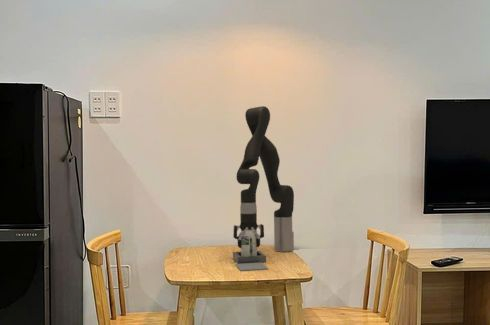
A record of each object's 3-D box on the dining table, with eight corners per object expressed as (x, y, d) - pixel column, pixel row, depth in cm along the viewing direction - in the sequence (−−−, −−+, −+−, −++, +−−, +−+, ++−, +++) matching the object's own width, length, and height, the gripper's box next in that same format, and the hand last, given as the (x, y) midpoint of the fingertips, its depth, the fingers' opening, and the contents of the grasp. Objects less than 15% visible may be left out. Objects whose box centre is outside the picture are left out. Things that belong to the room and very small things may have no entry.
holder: (259, 256, 233) (259, 250, 233) (266, 262, 221) (266, 255, 221) (232, 258, 231) (232, 252, 231) (237, 264, 218) (237, 257, 218)
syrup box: (240, 261, 224) (240, 229, 224) (246, 258, 230) (246, 227, 230) (251, 262, 222) (251, 230, 222) (257, 259, 227) (257, 228, 227)
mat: (261, 263, 219) (261, 262, 219) (268, 269, 207) (268, 268, 207) (235, 265, 216) (235, 264, 216) (240, 271, 205) (240, 270, 205)
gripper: (261, 210, 231) (262, 245, 231) (231, 211, 228) (232, 246, 228) (265, 212, 223) (265, 248, 223) (234, 213, 220) (235, 249, 221)
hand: (248, 247), depth 226 cm, fingers open, 8 cm apart
